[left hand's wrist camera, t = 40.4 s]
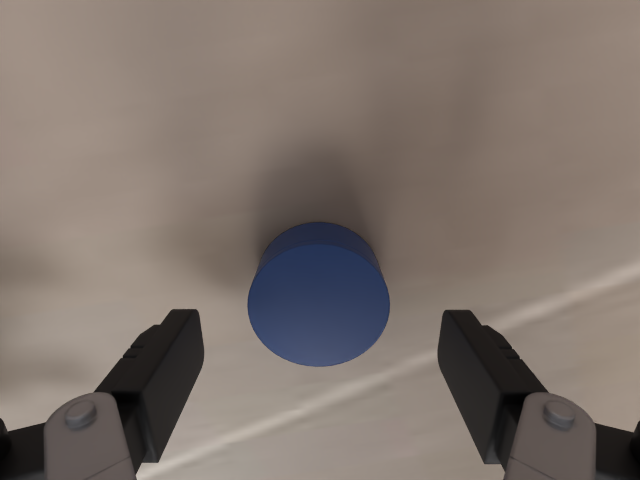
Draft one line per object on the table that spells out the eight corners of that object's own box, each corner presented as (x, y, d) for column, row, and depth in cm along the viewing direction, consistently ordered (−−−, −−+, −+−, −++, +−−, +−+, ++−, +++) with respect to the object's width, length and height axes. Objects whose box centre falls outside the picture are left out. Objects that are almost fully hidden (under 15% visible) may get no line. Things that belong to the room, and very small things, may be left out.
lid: (355, 342, 16) (361, 380, 13) (245, 313, 15) (233, 348, 13) (397, 242, 14) (412, 268, 12) (276, 205, 13) (267, 225, 11)
